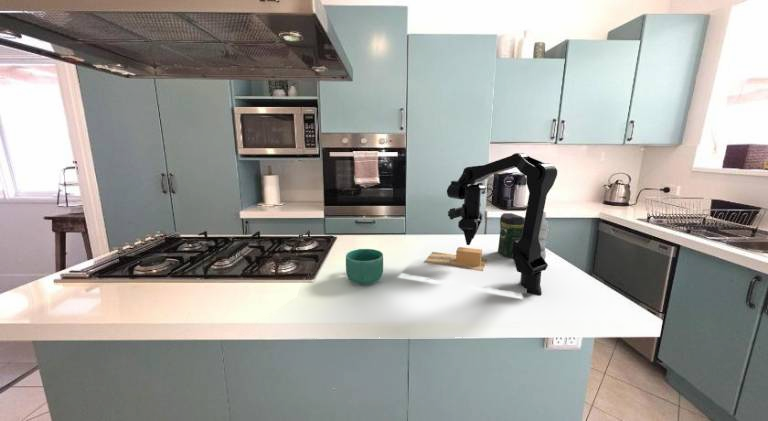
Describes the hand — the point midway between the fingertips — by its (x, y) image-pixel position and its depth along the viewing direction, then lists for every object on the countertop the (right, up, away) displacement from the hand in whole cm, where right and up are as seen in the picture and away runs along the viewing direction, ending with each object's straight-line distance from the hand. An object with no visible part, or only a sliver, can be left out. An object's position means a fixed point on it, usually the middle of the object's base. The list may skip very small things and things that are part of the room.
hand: (470, 241), depth 115 cm
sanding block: (0, -8, +2) cm, 8 cm away
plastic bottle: (+29, -9, +8) cm, 31 cm away
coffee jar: (+20, -8, +12) cm, 24 cm away
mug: (-39, -12, -10) cm, 42 cm away
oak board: (-5, -9, +4) cm, 11 cm away
